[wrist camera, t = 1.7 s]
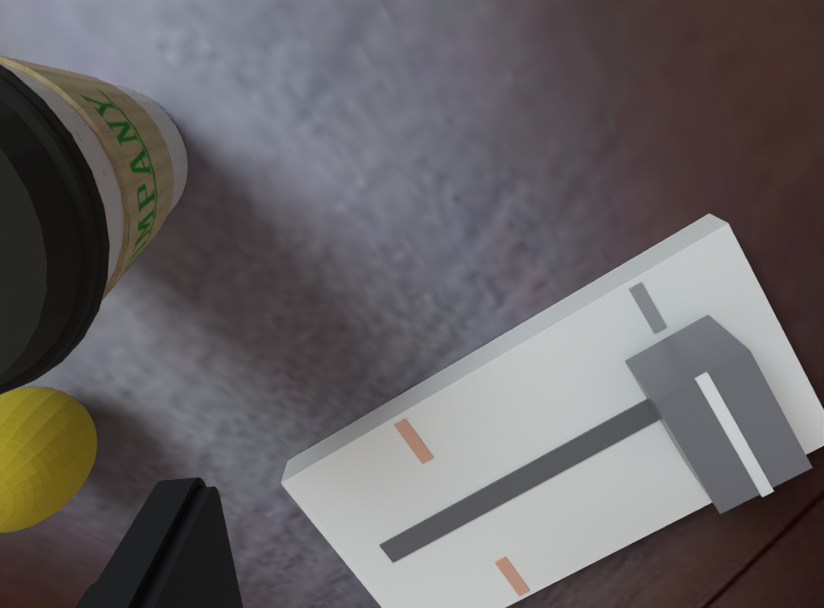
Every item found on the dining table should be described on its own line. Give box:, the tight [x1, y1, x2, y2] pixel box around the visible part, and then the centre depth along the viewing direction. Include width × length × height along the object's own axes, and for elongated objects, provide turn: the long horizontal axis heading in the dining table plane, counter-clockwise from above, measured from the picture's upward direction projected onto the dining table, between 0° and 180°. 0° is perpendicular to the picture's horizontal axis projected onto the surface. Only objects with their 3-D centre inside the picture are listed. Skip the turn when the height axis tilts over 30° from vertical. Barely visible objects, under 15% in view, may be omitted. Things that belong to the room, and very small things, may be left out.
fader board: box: [281, 214, 824, 608], centre depth 34 cm, size 23×12×2 cm, turn 123°
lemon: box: [0, 386, 98, 532], centre depth 31 cm, size 6×6×8 cm
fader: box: [625, 315, 812, 514], centre depth 30 cm, size 4×6×4 cm, turn 33°
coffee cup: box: [0, 56, 188, 395], centre depth 24 cm, size 10×10×15 cm
